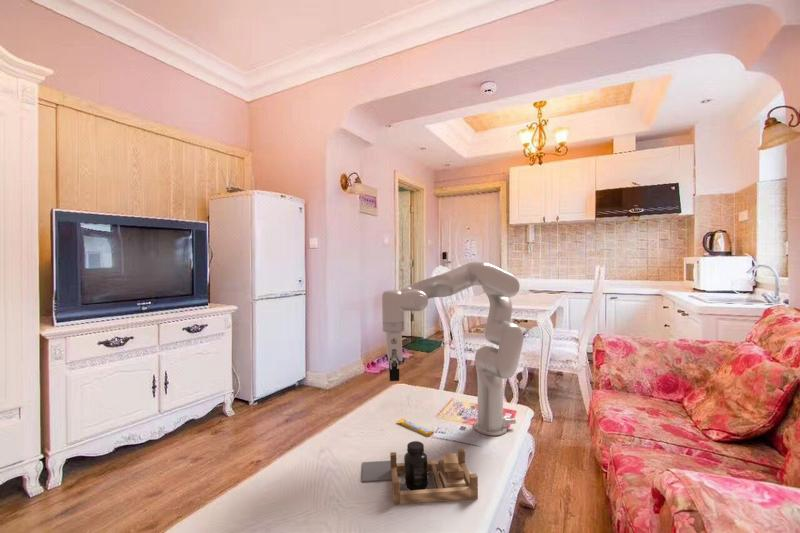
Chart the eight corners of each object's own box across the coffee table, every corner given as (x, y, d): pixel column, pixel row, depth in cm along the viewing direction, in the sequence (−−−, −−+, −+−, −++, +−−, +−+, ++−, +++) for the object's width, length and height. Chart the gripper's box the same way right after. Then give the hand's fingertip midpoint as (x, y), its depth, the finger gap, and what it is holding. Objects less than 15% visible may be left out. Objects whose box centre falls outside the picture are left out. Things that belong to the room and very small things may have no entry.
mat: (393, 461, 119) (393, 460, 119) (395, 480, 109) (395, 478, 109) (362, 463, 119) (362, 462, 119) (361, 482, 109) (361, 481, 109)
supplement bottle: (430, 480, 109) (430, 441, 109) (424, 494, 103) (424, 452, 102) (408, 476, 111) (408, 437, 111) (401, 490, 105) (400, 449, 104)
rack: (463, 466, 116) (463, 448, 116) (477, 498, 101) (477, 477, 100) (390, 471, 114) (390, 452, 114) (393, 504, 99) (393, 482, 99)
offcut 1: (456, 461, 110) (456, 453, 110) (458, 471, 105) (458, 462, 105) (442, 462, 110) (442, 453, 110) (444, 471, 105) (444, 463, 105)
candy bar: (435, 435, 138) (435, 430, 138) (428, 439, 135) (428, 434, 135) (403, 421, 150) (403, 416, 149) (396, 424, 147) (396, 420, 146)
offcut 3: (457, 474, 113) (457, 465, 112) (465, 493, 104) (465, 483, 103) (438, 476, 112) (438, 466, 112) (444, 495, 103) (444, 484, 103)
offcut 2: (453, 465, 112) (453, 457, 112) (463, 478, 105) (463, 470, 105) (438, 468, 111) (438, 460, 111) (448, 482, 104) (447, 473, 104)
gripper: (405, 331, 116) (406, 384, 117) (403, 321, 134) (403, 368, 134) (382, 331, 116) (383, 385, 117) (382, 322, 133) (383, 368, 134)
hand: (394, 376), depth 125 cm, fingers open, 9 cm apart
